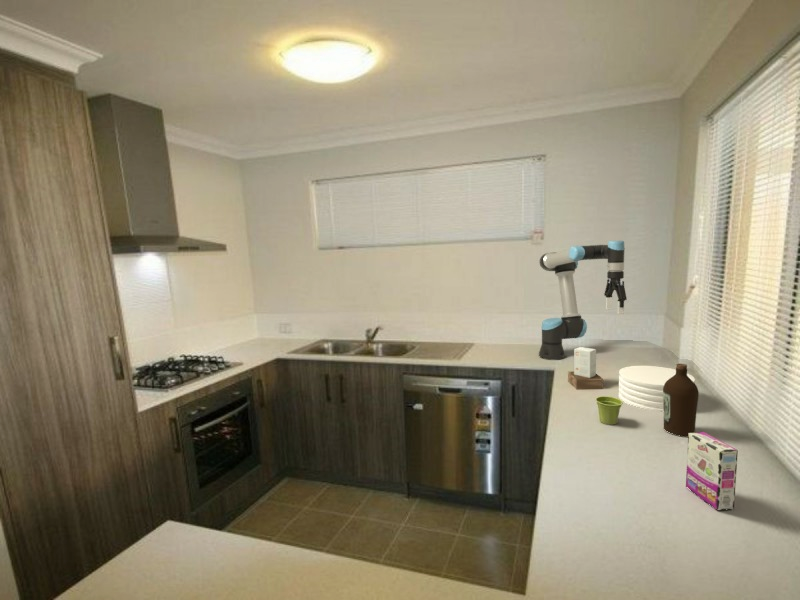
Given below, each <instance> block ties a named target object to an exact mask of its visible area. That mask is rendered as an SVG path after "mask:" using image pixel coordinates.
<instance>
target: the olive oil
mask: <svg viewBox="0 0 800 600" xmlns="http://www.w3.org/2000/svg"><path fill="white" fill-rule="evenodd" d="M687 367H688V365H687V364H685V363H677V364H676V367H675V370H676V374H675V375H674V376H673V377H671V378H670V379H669V380H667V381H666V382H665V384H664V387H663V407H664V412H663V430H664V429H665V430H666V431H668V432H670V433H673V434H676V435H680V436H679V437H682V436H688V433H696V432H695V431H696V421H697V420H696V419H697V412H698V404H699V395H700V394H699V389H698V386H697V383H696V382H695V383H694V382H693V381H692V380H691V379H690V378H689V377H688V376H687V373H688V368H687ZM665 430H664V431H665ZM666 431H665V432H666ZM668 432H667V433H668ZM670 433H669V434H670ZM673 434H672V435H673ZM676 435H675V436H676Z"/></svg>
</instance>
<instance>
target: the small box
mask: <svg viewBox="0 0 800 600" xmlns="http://www.w3.org/2000/svg"><path fill="white" fill-rule="evenodd" d="M573 372H574V375H578V376H583V377H588V378H591V377H593V376H595V375H596V374H597V349H595V348H590V347H582V346H579V347H576V348H574V350H573Z"/></svg>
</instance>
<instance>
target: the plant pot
mask: <svg viewBox="0 0 800 600" xmlns="http://www.w3.org/2000/svg"><path fill="white" fill-rule="evenodd" d="M595 401H596V405H597V409H598V419H599V421H600V423H603V424H604V423H605V424H604V425H608V424H614V425H616V423H617V424H618V420H619V415H620V410H621V407H622V405H623V403H624V402H623V401H622V400H621V399H620V398H617V397H615V396H614V397H613V396H607V395H604V396H597V397H595Z"/></svg>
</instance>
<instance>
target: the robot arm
mask: <svg viewBox="0 0 800 600" xmlns="http://www.w3.org/2000/svg"><path fill="white" fill-rule="evenodd" d="M625 250H626V248H625V241H624V240H609V241H608V243H607V244H594V245H593V244H592V245H576V246H574V245H573V246H571V247H570V248H568V249H564V250H561V251H558V252H557V251H556V252H546V253H544V254H542V255H541V256H540V258H539V260H538V261H539V266H540V267H541V269H542V270H544V271H546V272H554V274H555V276H556V277H557V278H558V285H559V287H558V288H559V294H560V301H561V307H562V309H561V310H562V315H561V317H560V318H559V317H551V318H550V317H549V318H546V319H544V320H543V321H542V323H541V345H540V348H539V351H538V357H539V356H540V357H539V358H541V357H543V358H542V359H544V358H546V359H545V360H551V359H558V360H563V359H565V358H566V352H565V349H564V346H563V340H566V339H567V340H568V339H569V340H570V339H579V338H582V337H584V336H585V334H586V333H587V330H588V325H587V321H586V320H585V319H584V318H582V315H581V314H580V313H579V311H578V304H577V297H576V289H575V288H576V287H575V282H574V281H575V280H574V274H575V272H576V270H577V268H578V266H579V261H586V260H587V261H589V260H590V261H592V260H607V265H606V267H607V273H606V274H607V276H606V277H607V280H606V286H605V290H604V293H603V294H604V295H603V296H605V301H606V303H605V309H606V310H608V311H609V310H613V293H614V292H615V293H616V295H617V298H618V299H617V314H618V315H621V314H623V315H624V313H625V301H627V299H628V298H627V294H626V288H625V281H624V280H622V279H624V277H625V276H624V275H625V271H624V269H625Z"/></svg>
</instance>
